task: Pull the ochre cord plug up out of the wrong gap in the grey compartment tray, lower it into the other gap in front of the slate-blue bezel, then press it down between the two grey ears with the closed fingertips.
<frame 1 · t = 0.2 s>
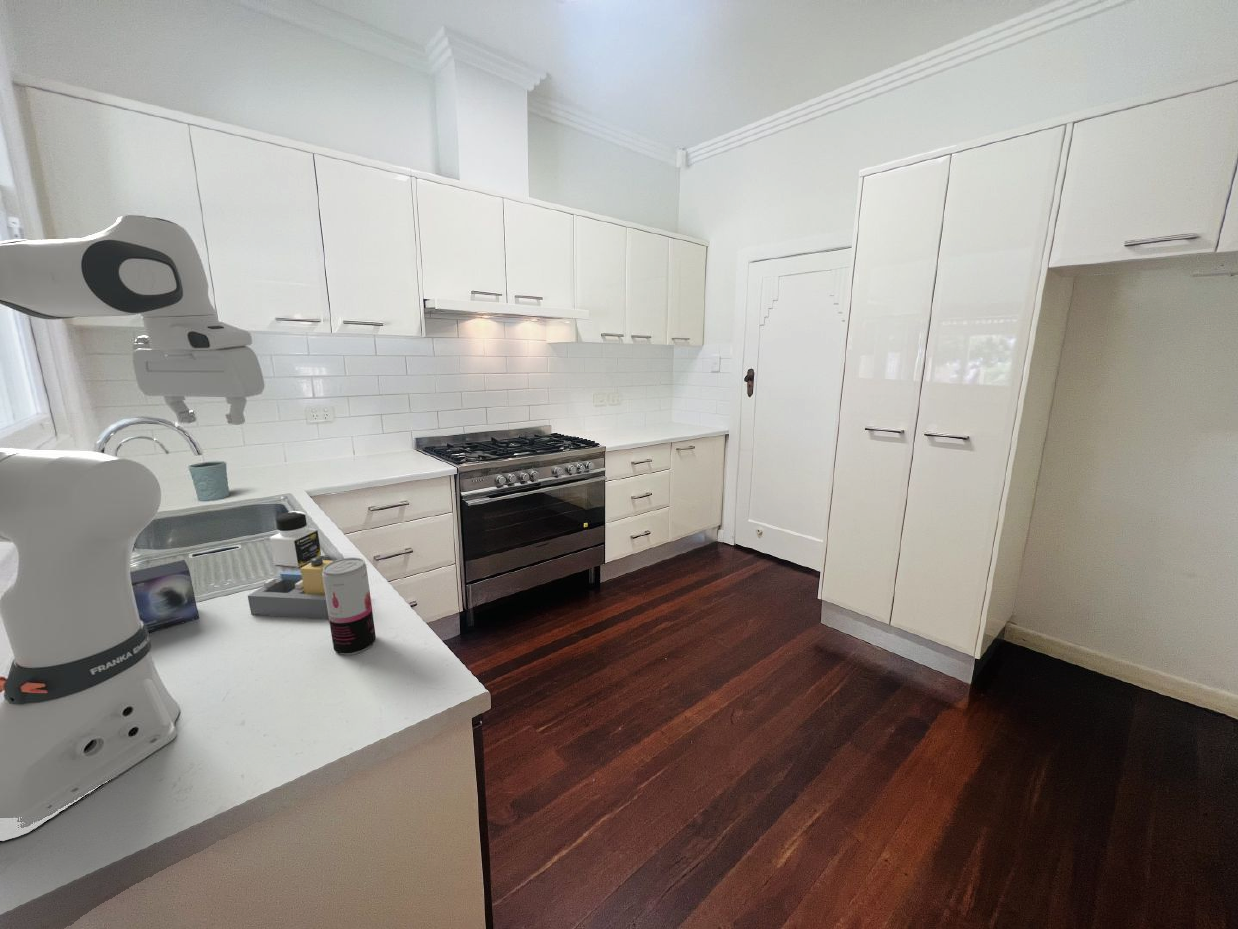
hand: (212, 423, 81), 39 cm above the worktop, tool pointing down, fingers open, 8 cm apart
teal cup: (214, 498, 174), on the worktop
small box: (162, 624, 94), on the worktop
beverage can: (355, 646, 87), on the worktop
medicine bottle: (298, 561, 122), on the worktop
grey compartment tray: (306, 605, 101), on the worktop
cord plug: (323, 606, 100), resting in grey compartment tray
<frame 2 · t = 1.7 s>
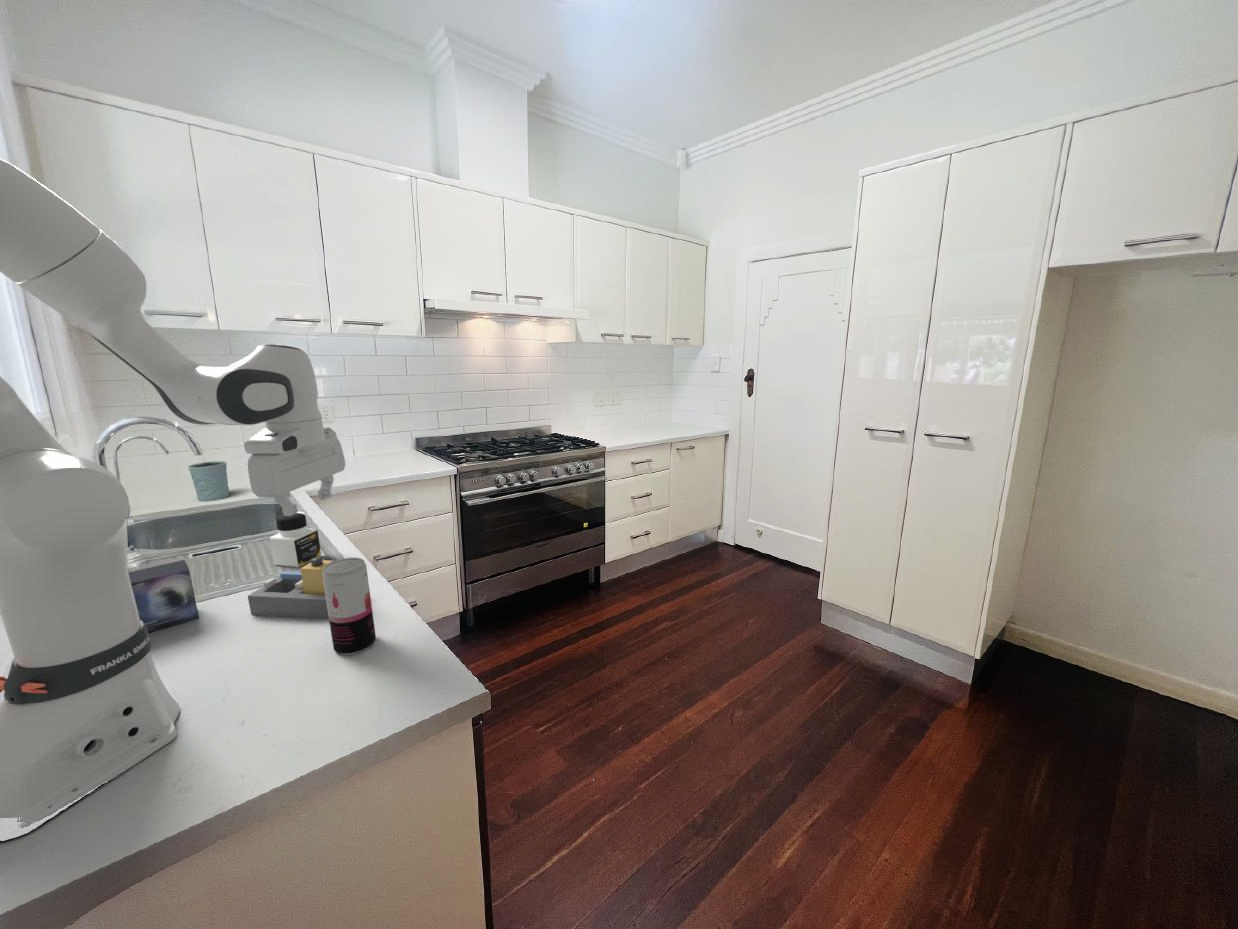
hand: (308, 506, 96), 21 cm above the worktop, tool pointing down, fingers open, 8 cm apart
nothing on the worktop moved.
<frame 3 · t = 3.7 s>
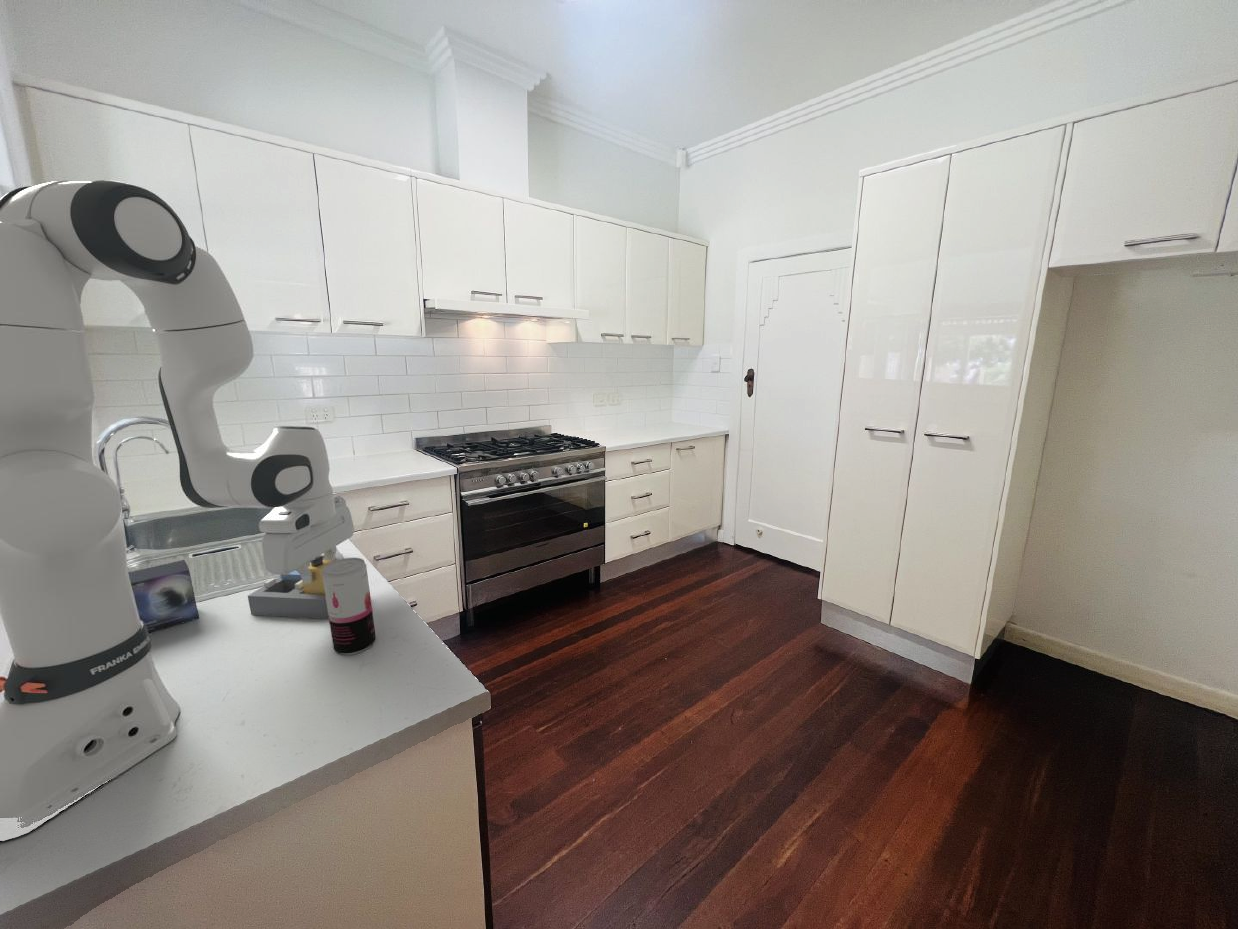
hand: (319, 575, 99), 7 cm above the worktop, tool pointing down, fingers closed on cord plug, 4 cm apart
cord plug: (323, 606, 100), resting in grey compartment tray, touching gripper
everything else where it was.
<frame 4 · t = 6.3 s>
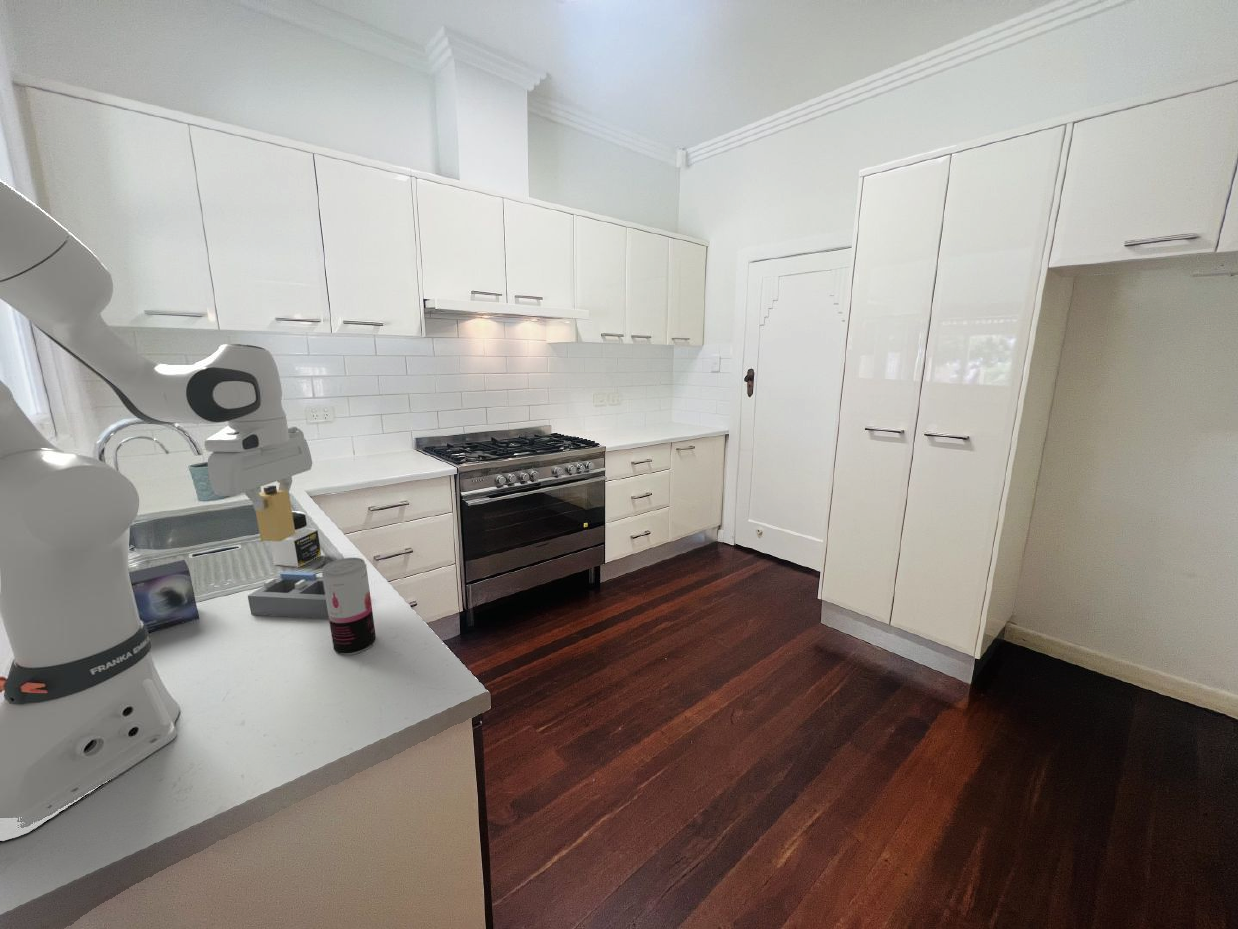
hand: (272, 504, 96), 21 cm above the worktop, tool pointing down, fingers closed on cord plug, 4 cm apart
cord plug: (278, 537, 98), point 14 cm above the worktop, touching gripper
everything else where it was.
when the fingers open (8 cm above the worktop, at t = 9.1 s): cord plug drops 1 cm, resting in grey compartment tray.
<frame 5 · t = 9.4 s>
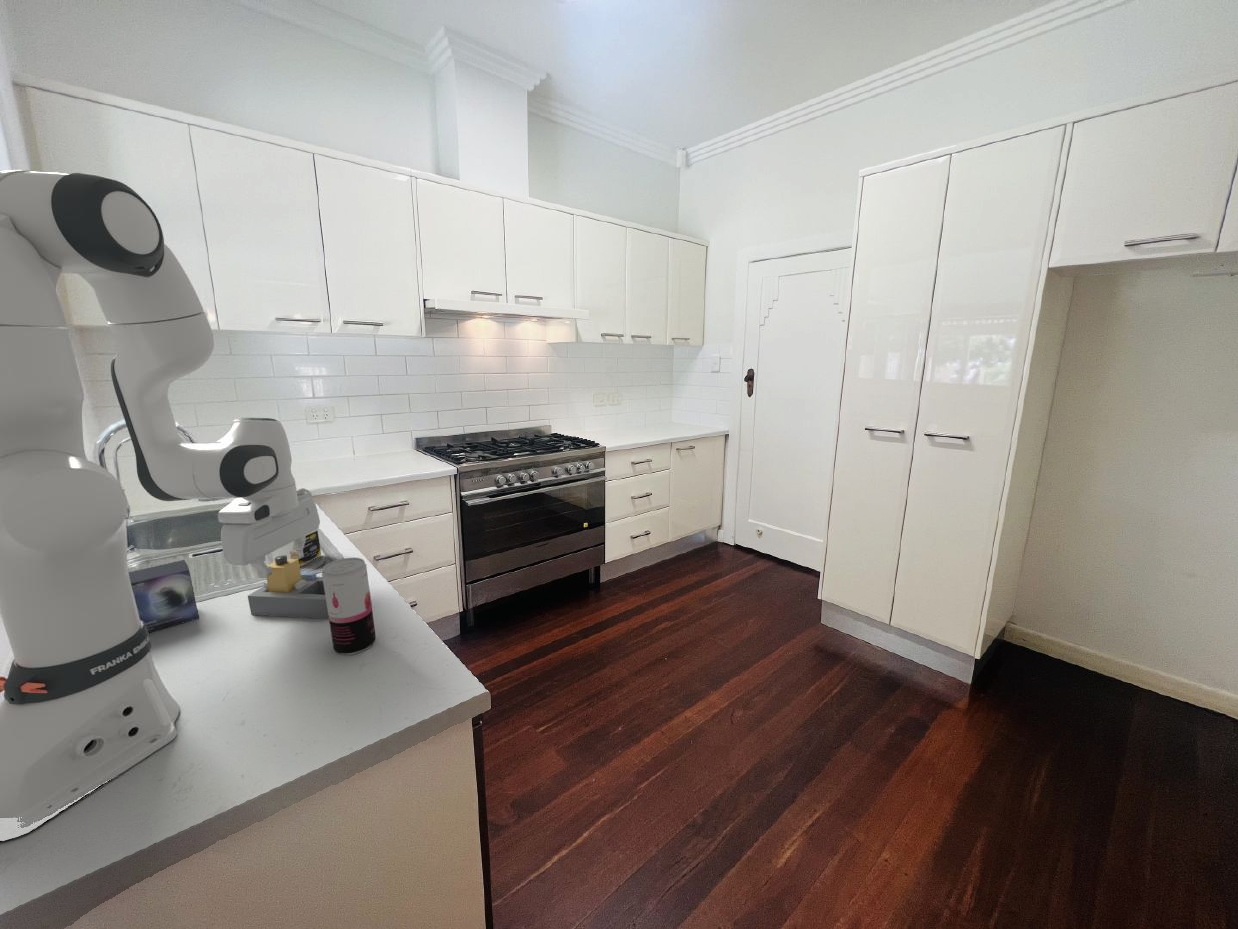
hand: (282, 567, 99), 8 cm above the worktop, tool pointing down, fingers open, 7 cm apart
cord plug: (288, 604, 101), resting in grey compartment tray
everything else where it was.
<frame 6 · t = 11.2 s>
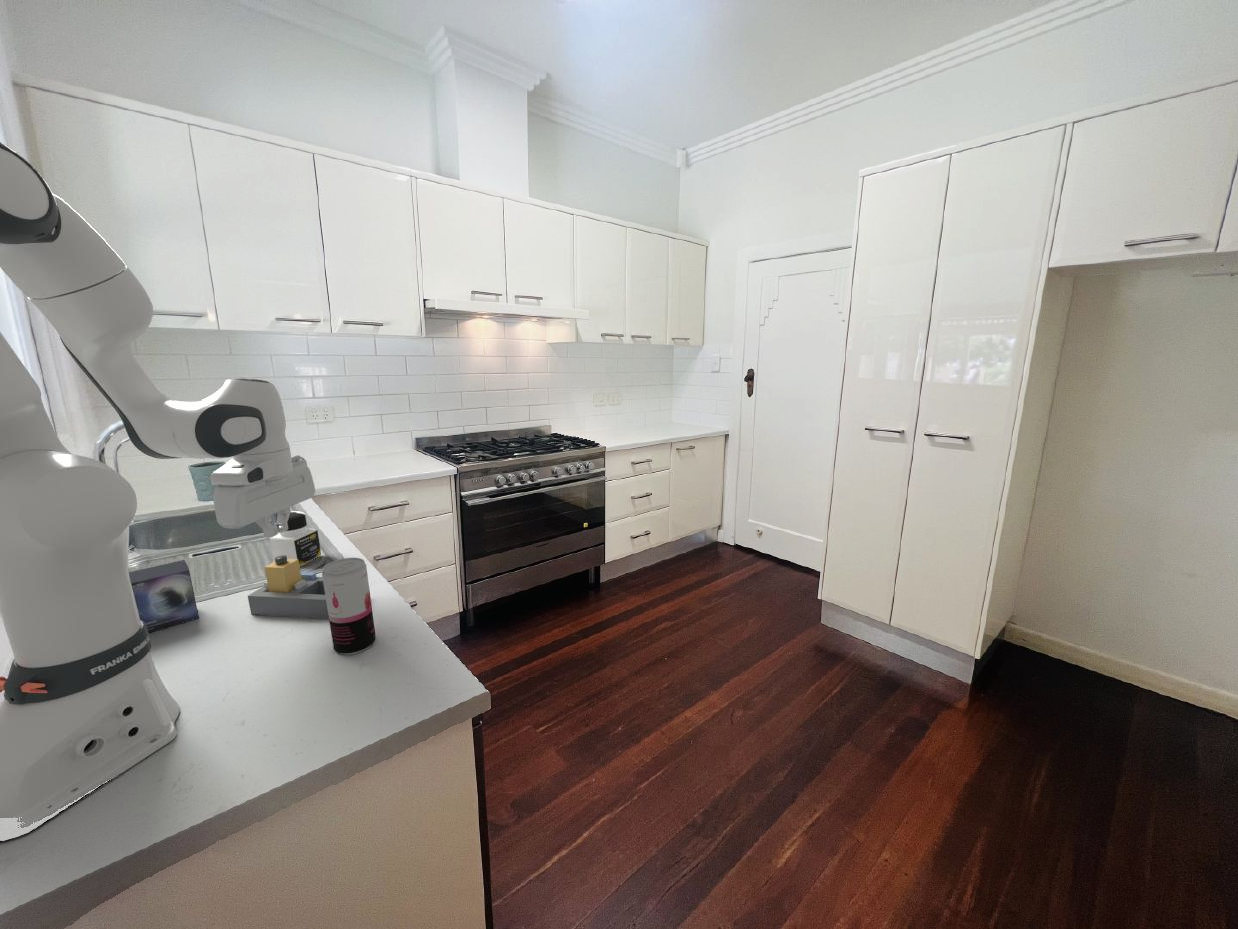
hand: (276, 533, 98), 15 cm above the worktop, tool pointing down, fingers closed
nothing on the worktop moved.
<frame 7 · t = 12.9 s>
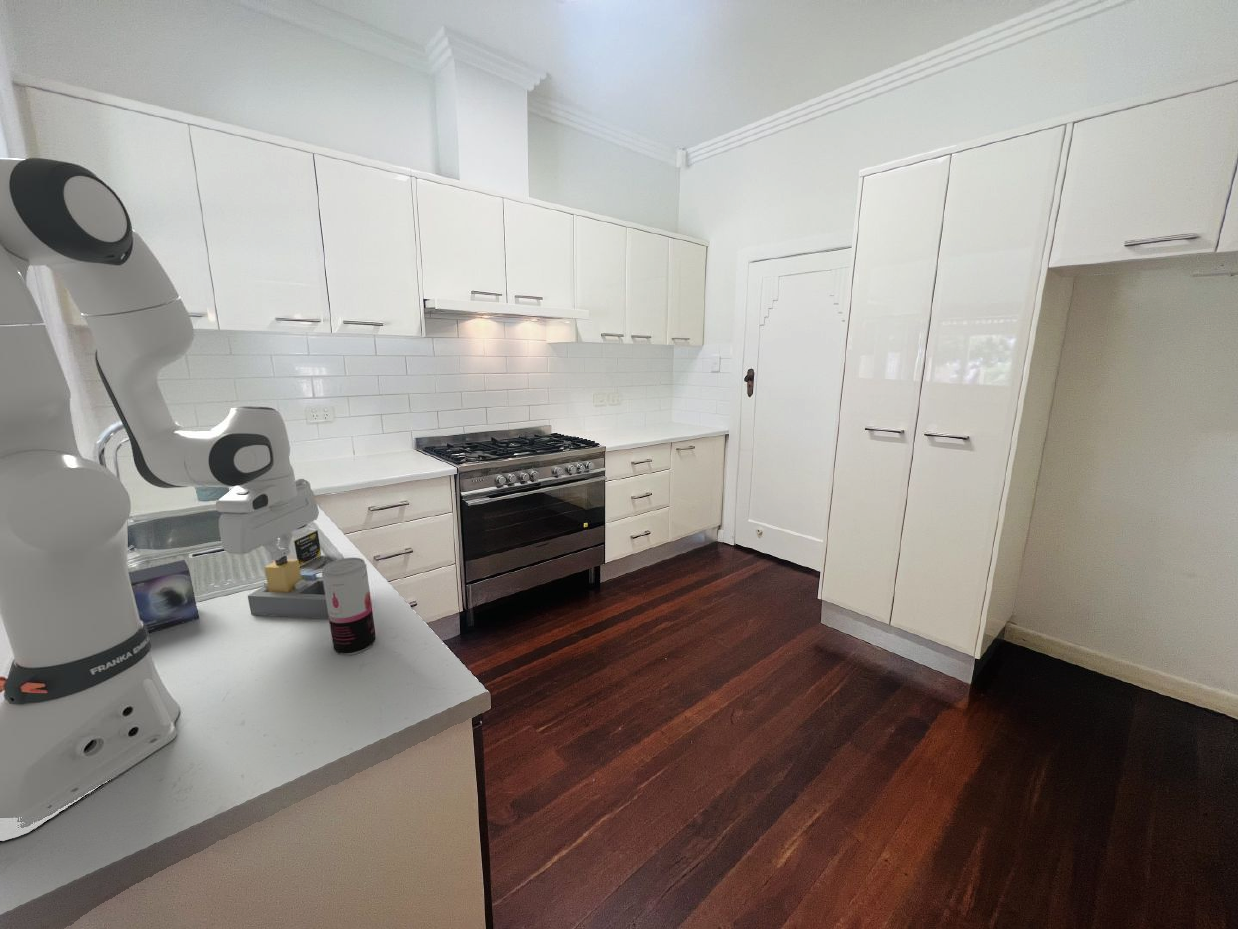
hand: (280, 557, 99), 10 cm above the worktop, tool pointing down, fingers closed, pressing on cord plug
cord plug: (288, 604, 101), resting in grey compartment tray, touching gripper
everything else where it was.
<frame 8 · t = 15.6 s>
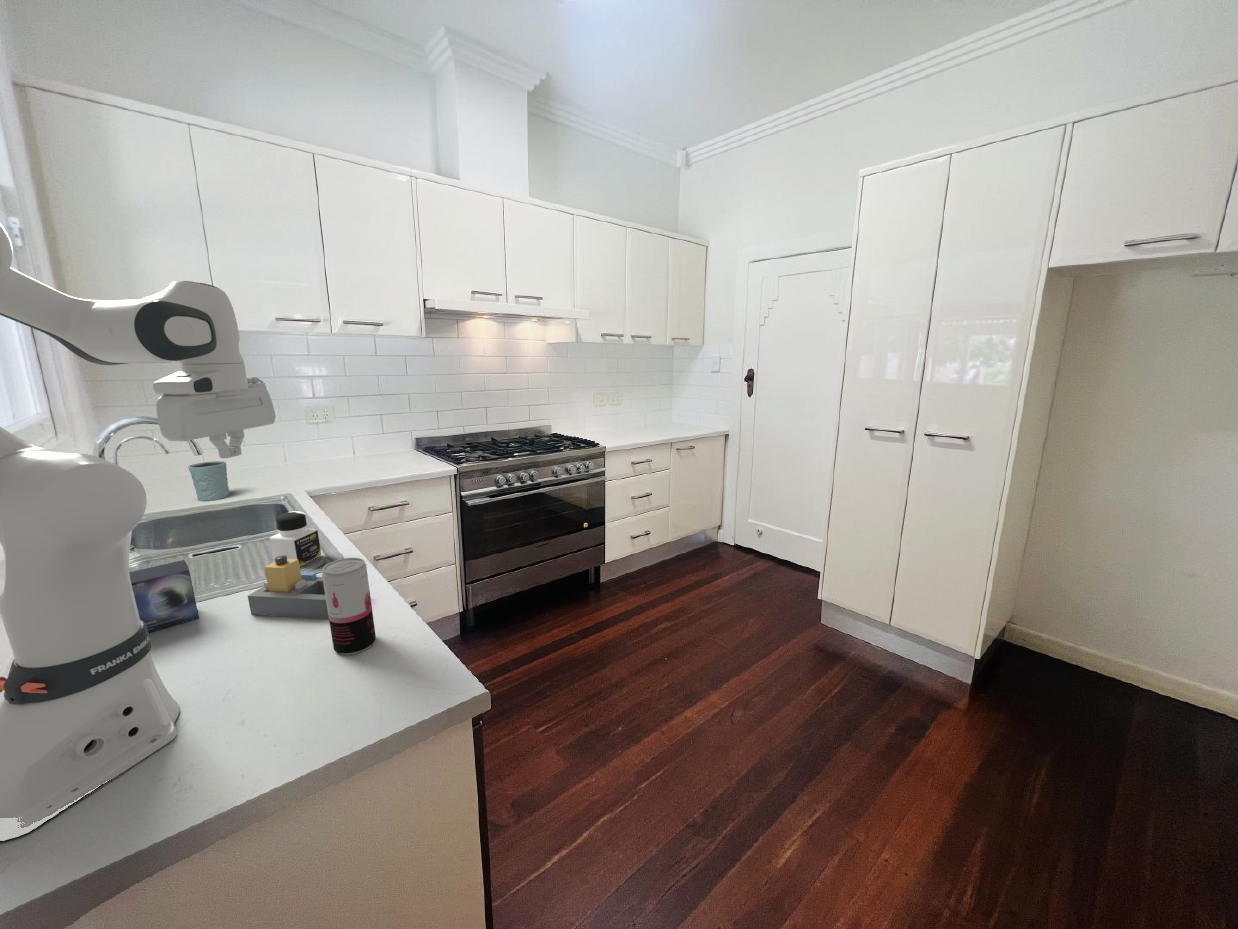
hand: (231, 456, 91), 31 cm above the worktop, tool pointing down, fingers closed
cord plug: (288, 604, 101), resting in grey compartment tray
everything else where it was.
at the end: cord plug 0.1 cm from the target spot on the grey compartment tray, point 0.0 cm above the grey compartment tray's base; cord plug tilted 0°; the gripper is holding nothing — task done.
